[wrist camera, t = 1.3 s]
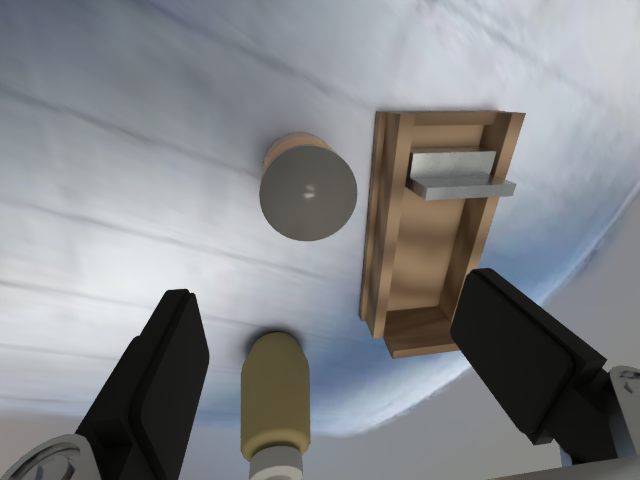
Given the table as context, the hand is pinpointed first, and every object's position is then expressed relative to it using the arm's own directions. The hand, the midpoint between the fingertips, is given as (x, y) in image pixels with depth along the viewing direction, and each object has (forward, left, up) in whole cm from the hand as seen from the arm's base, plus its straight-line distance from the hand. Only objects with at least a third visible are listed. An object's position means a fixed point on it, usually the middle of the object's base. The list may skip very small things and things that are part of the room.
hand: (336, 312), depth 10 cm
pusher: (-1, +13, -18) cm, 22 cm away
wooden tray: (+6, +13, -19) cm, 24 cm away
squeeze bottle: (+23, -4, -19) cm, 30 cm away
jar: (0, 0, -19) cm, 19 cm away
